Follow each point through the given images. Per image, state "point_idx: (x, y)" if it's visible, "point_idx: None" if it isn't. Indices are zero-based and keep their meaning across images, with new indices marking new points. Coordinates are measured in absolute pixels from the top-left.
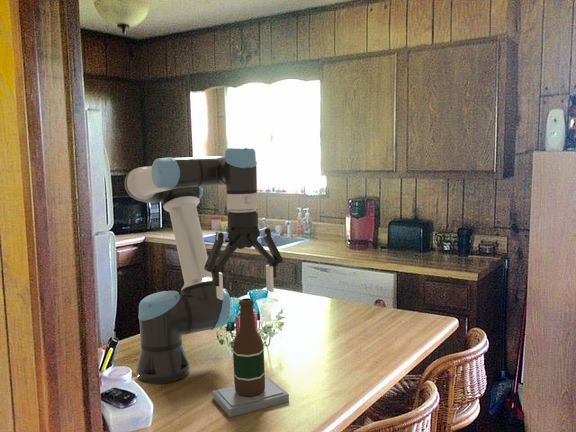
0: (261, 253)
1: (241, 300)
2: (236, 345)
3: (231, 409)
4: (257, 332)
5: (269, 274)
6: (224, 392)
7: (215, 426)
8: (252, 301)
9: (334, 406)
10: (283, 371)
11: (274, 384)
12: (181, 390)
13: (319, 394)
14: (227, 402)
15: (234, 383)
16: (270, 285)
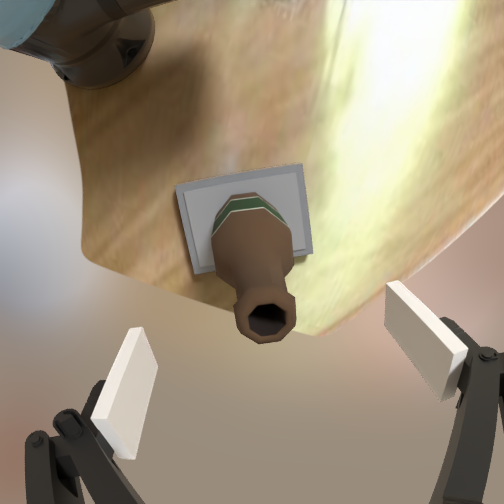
0: (443, 469)
1: (244, 325)
2: (216, 269)
3: (198, 273)
4: (284, 273)
5: (421, 364)
6: (195, 208)
7: (170, 288)
8: (289, 330)
9: (366, 288)
10: (346, 113)
11: (302, 202)
12: (123, 127)
13: (366, 241)
14: (195, 247)
15: (215, 216)
16: (396, 338)
